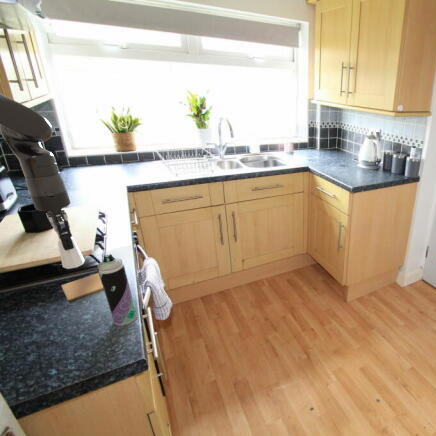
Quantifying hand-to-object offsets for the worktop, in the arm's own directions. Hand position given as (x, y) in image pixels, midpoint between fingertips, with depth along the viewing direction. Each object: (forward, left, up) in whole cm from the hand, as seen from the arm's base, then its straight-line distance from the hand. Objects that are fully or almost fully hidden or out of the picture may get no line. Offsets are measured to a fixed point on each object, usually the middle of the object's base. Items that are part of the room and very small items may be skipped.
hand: (67, 245), depth 92 cm
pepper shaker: (0, 0, -6) cm, 6 cm away
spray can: (+5, -24, -15) cm, 29 cm away
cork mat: (0, 0, -15) cm, 15 cm away
